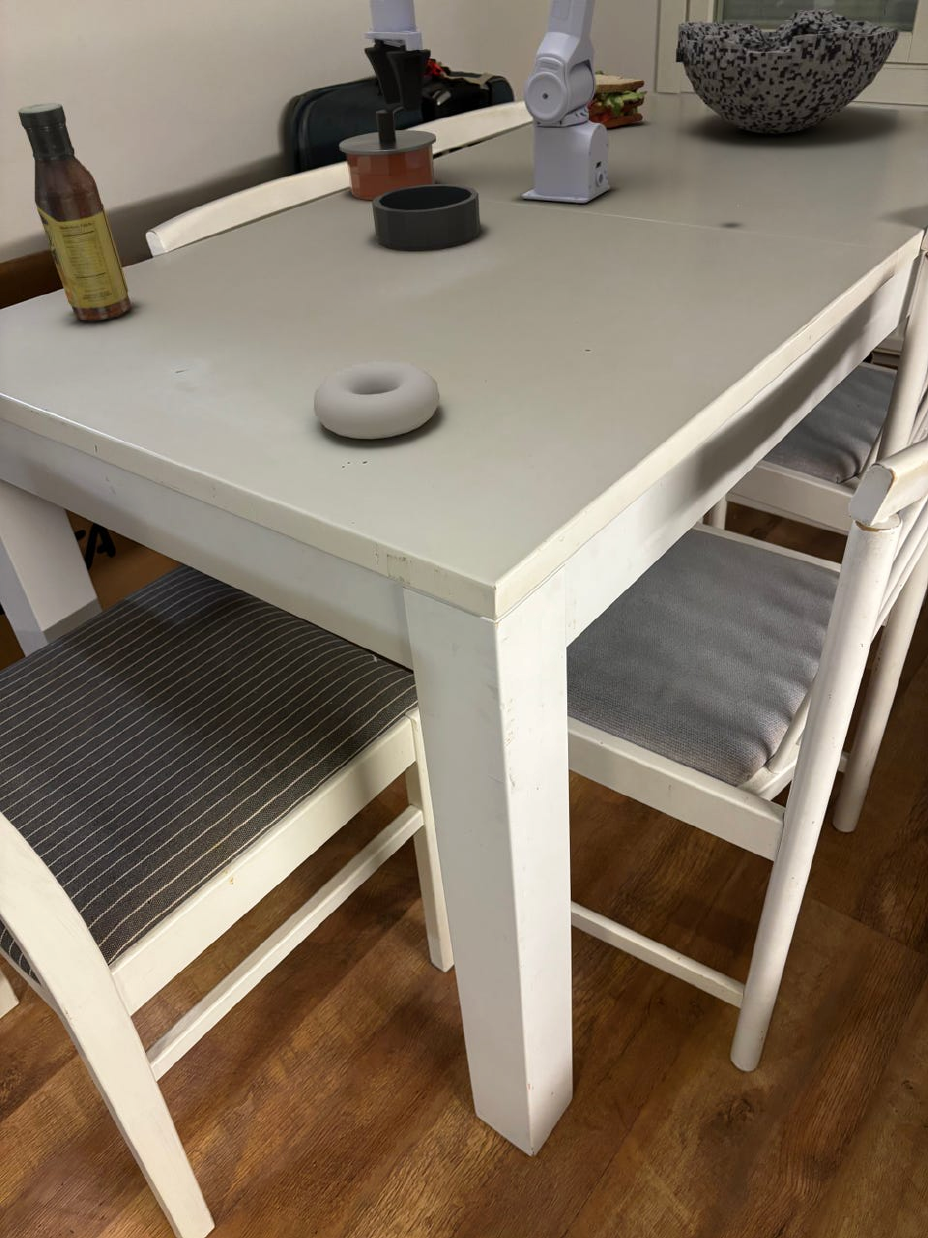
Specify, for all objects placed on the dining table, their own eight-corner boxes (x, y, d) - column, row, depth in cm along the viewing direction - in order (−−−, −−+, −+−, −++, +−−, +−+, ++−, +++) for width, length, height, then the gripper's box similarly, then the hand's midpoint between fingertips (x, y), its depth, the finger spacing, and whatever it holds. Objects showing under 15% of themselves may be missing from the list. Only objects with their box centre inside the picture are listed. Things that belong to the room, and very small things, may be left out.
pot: (450, 182, 138) (447, 136, 135) (403, 203, 130) (398, 155, 127) (383, 177, 144) (378, 133, 140) (334, 197, 136) (328, 151, 132)
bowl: (779, 162, 134) (794, 38, 125) (634, 134, 156) (637, 27, 147) (925, 125, 146) (949, 10, 137) (771, 104, 168) (783, 3, 159)
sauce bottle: (85, 304, 104) (22, 101, 92) (141, 301, 104) (84, 96, 92) (63, 326, 99) (-6, 113, 87) (122, 323, 99) (60, 109, 87)
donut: (351, 389, 81) (294, 439, 74) (345, 350, 79) (286, 397, 72) (459, 399, 78) (411, 452, 71) (457, 359, 76) (406, 409, 69)
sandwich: (531, 127, 165) (530, 74, 160) (579, 114, 171) (579, 63, 167) (604, 136, 155) (605, 80, 150) (651, 122, 161) (654, 68, 157)
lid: (454, 140, 135) (452, 103, 132) (400, 162, 126) (396, 122, 123) (377, 136, 141) (373, 100, 138) (320, 157, 132) (315, 119, 129)
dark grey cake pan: (498, 225, 118) (496, 187, 116) (443, 254, 110) (440, 214, 107) (414, 217, 124) (411, 181, 121) (357, 244, 116) (351, 206, 113)
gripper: (344, -10, 128) (358, 103, 136) (380, -6, 117) (393, 117, 125) (393, -16, 130) (404, 97, 138) (433, -12, 119) (442, 109, 127)
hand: (402, 106), depth 132 cm, fingers open, 7 cm apart
